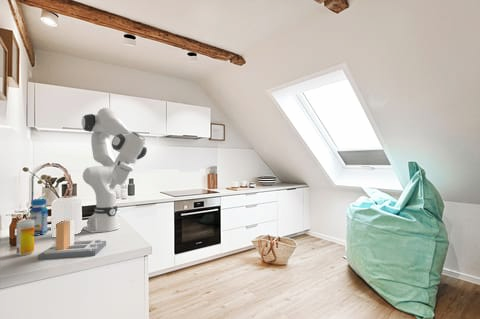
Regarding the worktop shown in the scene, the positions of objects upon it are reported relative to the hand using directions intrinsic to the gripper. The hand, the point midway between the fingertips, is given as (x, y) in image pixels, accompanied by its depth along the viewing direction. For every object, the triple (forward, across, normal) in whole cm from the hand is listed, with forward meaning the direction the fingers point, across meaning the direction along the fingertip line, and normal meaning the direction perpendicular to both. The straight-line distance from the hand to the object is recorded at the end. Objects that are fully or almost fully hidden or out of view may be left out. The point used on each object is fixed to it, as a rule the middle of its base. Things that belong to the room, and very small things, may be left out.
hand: (111, 187), depth 127 cm
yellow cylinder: (+41, -1, -19) cm, 45 cm away
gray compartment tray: (+31, +8, -2) cm, 32 cm away
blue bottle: (+47, -38, -16) cm, 63 cm away
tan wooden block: (+31, +9, -7) cm, 33 cm away
